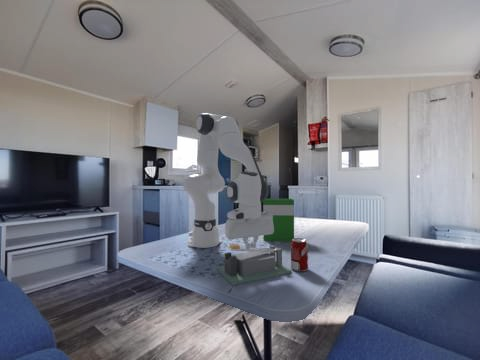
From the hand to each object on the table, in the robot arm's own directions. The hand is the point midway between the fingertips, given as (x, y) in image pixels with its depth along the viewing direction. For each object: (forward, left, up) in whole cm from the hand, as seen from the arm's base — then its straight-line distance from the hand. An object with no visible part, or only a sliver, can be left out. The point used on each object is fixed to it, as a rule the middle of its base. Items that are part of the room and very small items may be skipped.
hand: (250, 247), depth 94 cm
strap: (-1, +2, -2) cm, 3 cm away
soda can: (+6, +19, -10) cm, 22 cm away
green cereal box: (-36, +38, -10) cm, 53 cm away
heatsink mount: (-1, +2, -10) cm, 10 cm away
